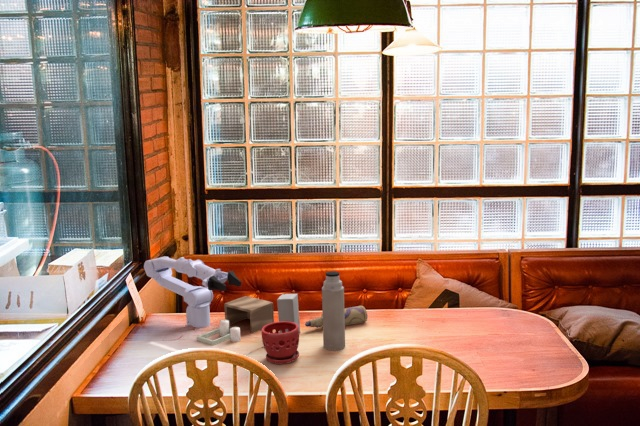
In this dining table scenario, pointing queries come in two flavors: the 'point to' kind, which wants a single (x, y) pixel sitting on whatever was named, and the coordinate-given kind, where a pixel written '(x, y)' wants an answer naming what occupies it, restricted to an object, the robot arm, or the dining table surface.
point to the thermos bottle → (333, 312)
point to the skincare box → (288, 309)
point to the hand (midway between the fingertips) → (233, 286)
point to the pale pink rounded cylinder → (224, 327)
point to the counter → (250, 312)
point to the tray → (204, 336)
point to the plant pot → (281, 342)
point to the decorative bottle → (351, 317)
